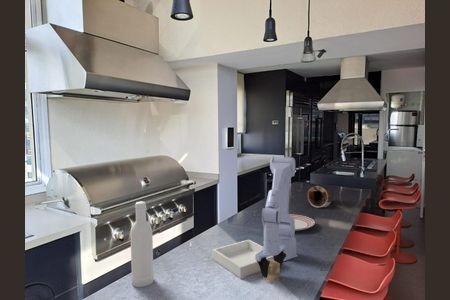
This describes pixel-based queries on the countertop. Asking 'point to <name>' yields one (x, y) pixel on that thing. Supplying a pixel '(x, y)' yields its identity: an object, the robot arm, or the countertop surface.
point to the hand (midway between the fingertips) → (271, 273)
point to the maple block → (273, 271)
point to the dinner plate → (302, 222)
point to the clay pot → (320, 196)
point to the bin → (239, 258)
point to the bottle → (141, 248)
